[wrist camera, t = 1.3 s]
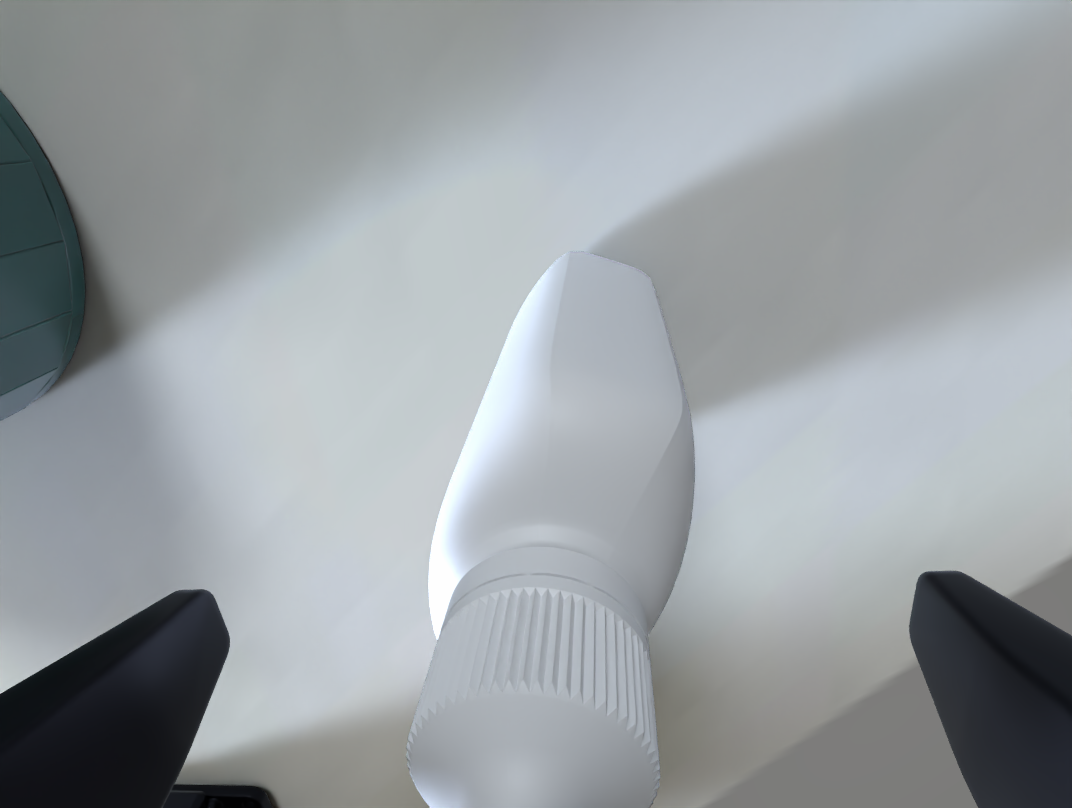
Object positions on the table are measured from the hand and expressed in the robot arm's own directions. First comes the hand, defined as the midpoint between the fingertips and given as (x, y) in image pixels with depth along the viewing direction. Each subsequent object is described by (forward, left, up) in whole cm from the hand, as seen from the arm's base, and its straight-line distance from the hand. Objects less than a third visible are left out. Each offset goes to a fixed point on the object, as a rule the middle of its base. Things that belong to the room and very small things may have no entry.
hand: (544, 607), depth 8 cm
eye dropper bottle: (0, 0, -8) cm, 9 cm away
